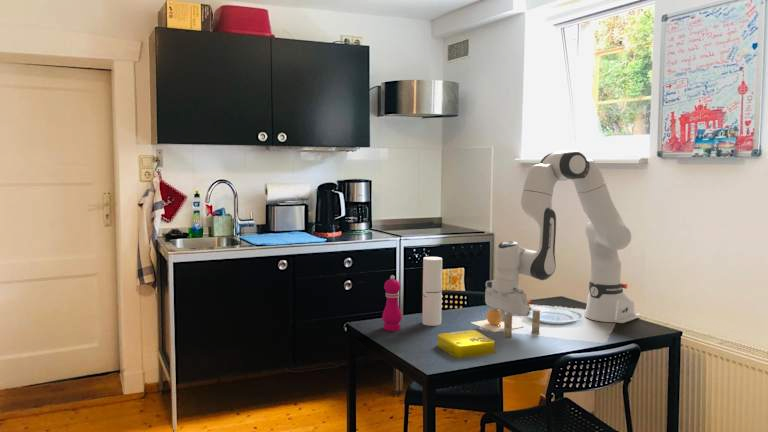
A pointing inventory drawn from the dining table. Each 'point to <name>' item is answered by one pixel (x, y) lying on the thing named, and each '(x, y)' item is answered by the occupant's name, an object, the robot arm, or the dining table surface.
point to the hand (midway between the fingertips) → (505, 322)
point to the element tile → (466, 344)
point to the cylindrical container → (432, 291)
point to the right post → (535, 321)
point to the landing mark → (491, 327)
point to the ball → (494, 317)
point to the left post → (508, 326)
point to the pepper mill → (392, 305)
